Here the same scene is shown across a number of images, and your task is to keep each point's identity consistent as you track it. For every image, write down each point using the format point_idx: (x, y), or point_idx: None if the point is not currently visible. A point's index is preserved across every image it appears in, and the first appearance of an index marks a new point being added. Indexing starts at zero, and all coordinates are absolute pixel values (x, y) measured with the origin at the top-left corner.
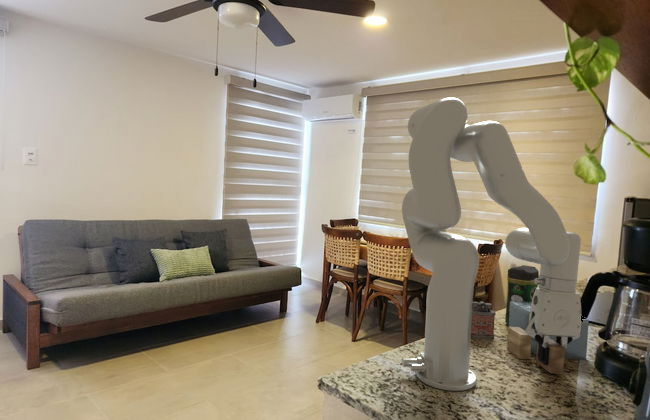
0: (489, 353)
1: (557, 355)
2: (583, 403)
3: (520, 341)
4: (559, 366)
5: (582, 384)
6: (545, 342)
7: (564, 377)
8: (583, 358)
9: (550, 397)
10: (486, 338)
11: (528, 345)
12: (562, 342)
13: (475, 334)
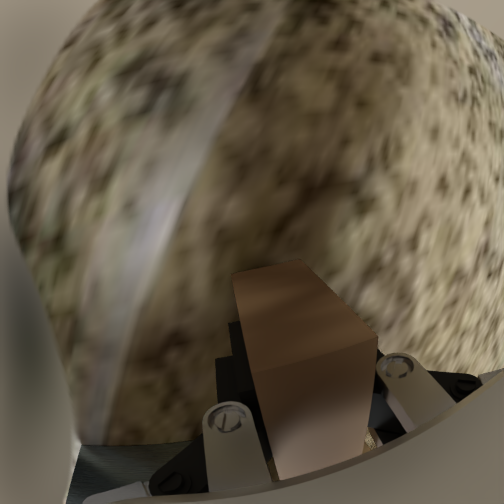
0: None
1: (302, 312)
2: (254, 7)
3: (369, 450)
4: (260, 283)
5: (157, 192)
6: (412, 379)
7: (221, 262)
8: (89, 446)
9: (366, 49)
10: None
11: None
12: (255, 439)
13: None
